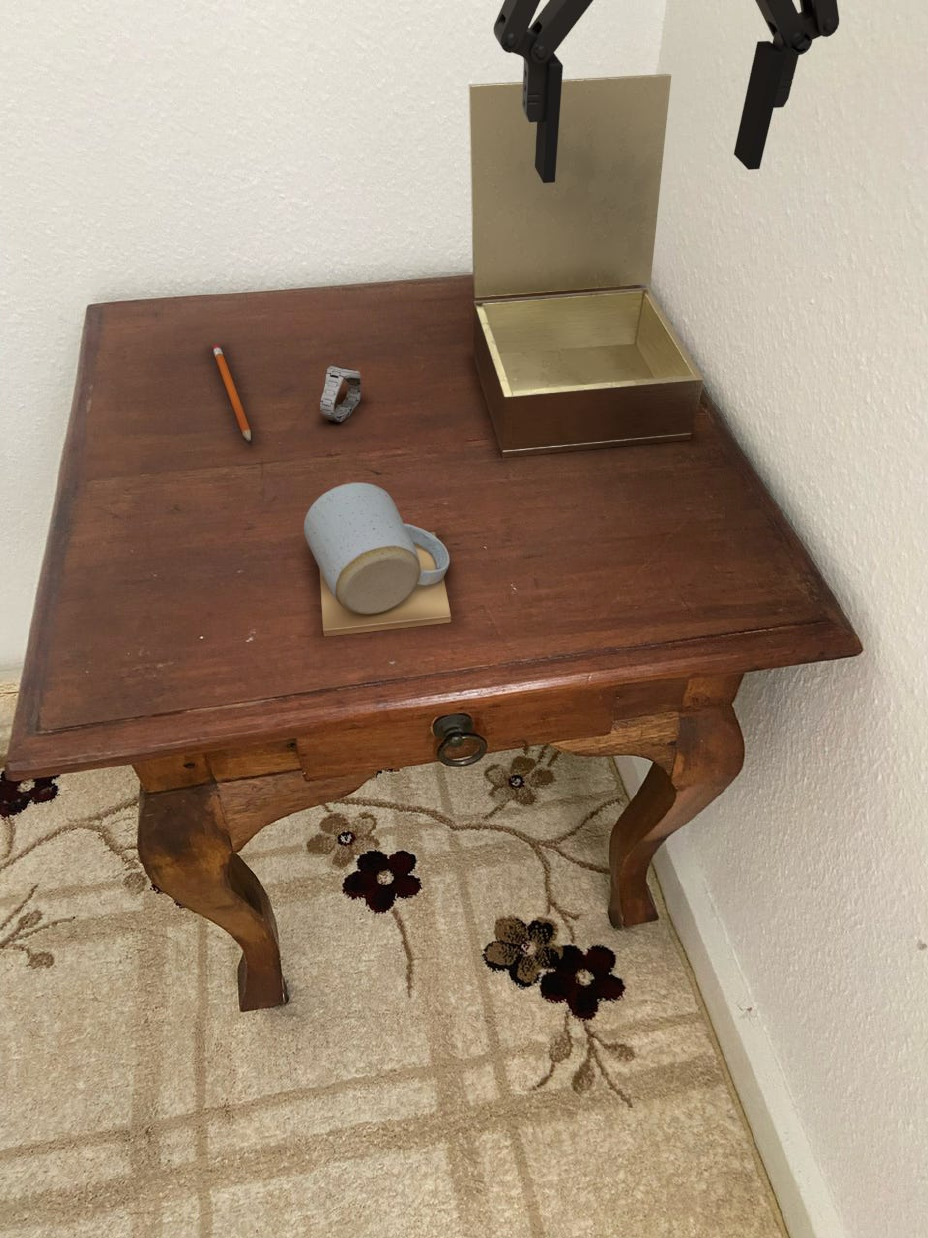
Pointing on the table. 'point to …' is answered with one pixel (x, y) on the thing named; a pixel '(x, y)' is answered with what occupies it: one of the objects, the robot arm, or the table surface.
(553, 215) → the box lid
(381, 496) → the ceramic mug
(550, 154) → the robot arm
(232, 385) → the pencil
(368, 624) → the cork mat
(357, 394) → the wristwatch
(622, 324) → the open metal box
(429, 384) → the table surface
